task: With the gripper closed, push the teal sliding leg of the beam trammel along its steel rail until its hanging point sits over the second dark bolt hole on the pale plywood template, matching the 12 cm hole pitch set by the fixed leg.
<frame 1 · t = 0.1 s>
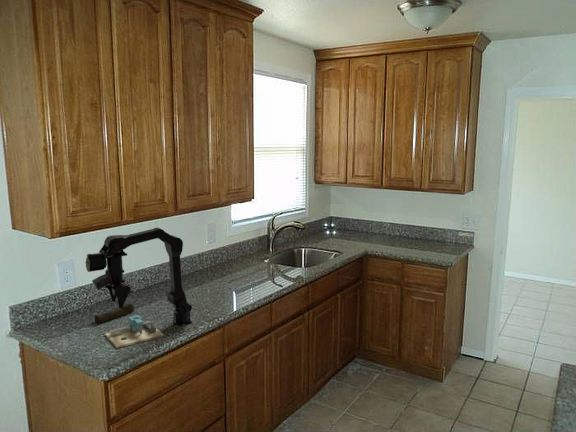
hand: (117, 304, 182), 15 cm above the worktop, fingers open, 9 cm apart
sliding leg: (137, 324, 190), point 4 cm above the worktop, slide at 0.0 cm
rail: (131, 332, 191), resting on template board
fixed leg: (149, 330, 193), resting on template board
hand tool: (115, 318, 207), on the worktop
template board: (134, 335, 187), on the worktop
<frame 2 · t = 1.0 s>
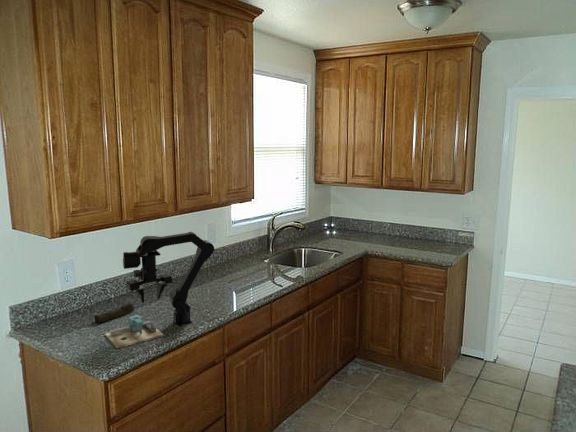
hand: (150, 301, 194), 12 cm above the worktop, fingers open, 6 cm apart
nothing on the worktop moved.
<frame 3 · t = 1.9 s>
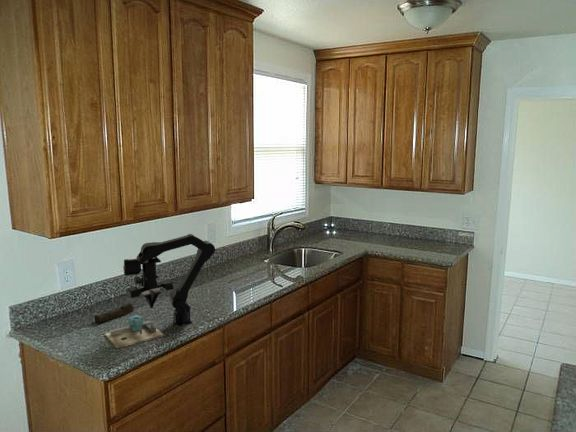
hand: (151, 307, 195), 9 cm above the worktop, fingers closed
nothing on the worktop moved.
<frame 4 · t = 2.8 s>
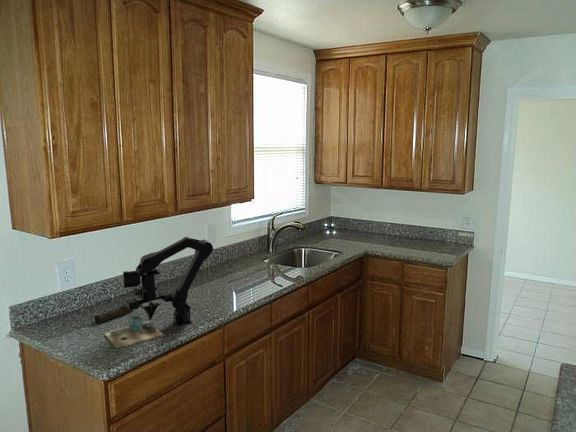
hand: (149, 319, 195), 4 cm above the worktop, fingers closed
nothing on the worktop moved.
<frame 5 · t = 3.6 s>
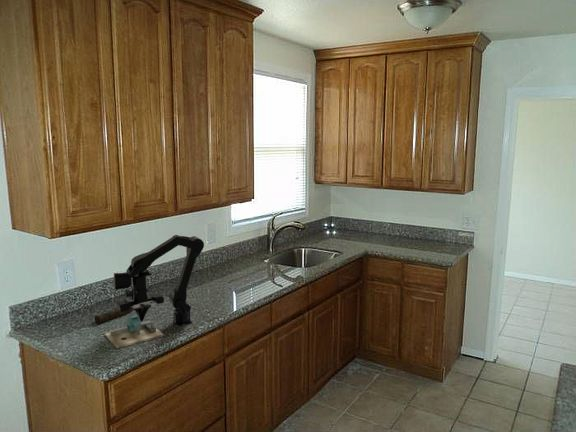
hand: (141, 321, 193), 4 cm above the worktop, fingers closed
sliding leg: (134, 325, 189), point 4 cm above the worktop, slide at 1.0 cm, touching gripper
everything else where it was.
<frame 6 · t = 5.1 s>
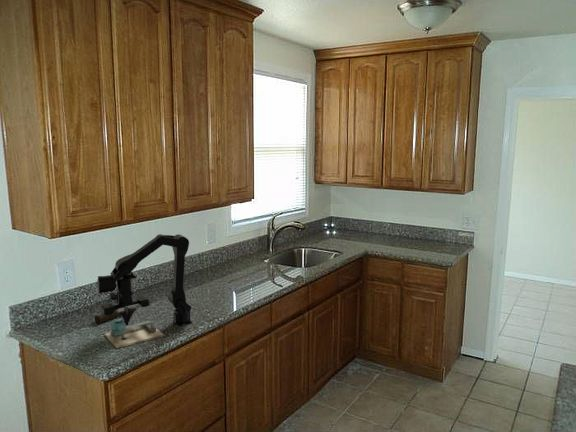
hand: (126, 325, 189), 4 cm above the worktop, fingers closed
sliding leg: (119, 329, 185), point 4 cm above the worktop, slide at 7.3 cm, touching gripper
everything else where it was.
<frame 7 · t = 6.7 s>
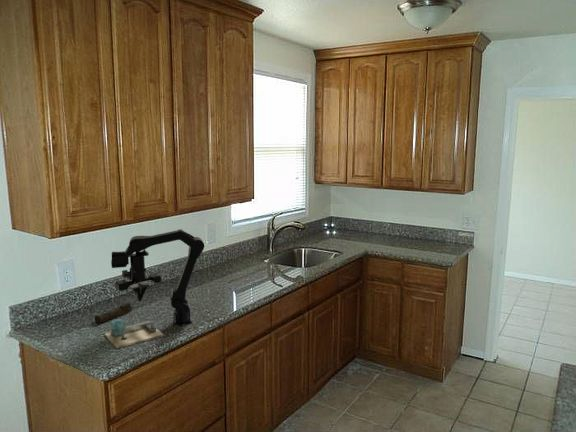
hand: (139, 300, 195), 12 cm above the worktop, fingers closed
sliding leg: (119, 329, 185), point 4 cm above the worktop, slide at 7.3 cm
everything else where it was.
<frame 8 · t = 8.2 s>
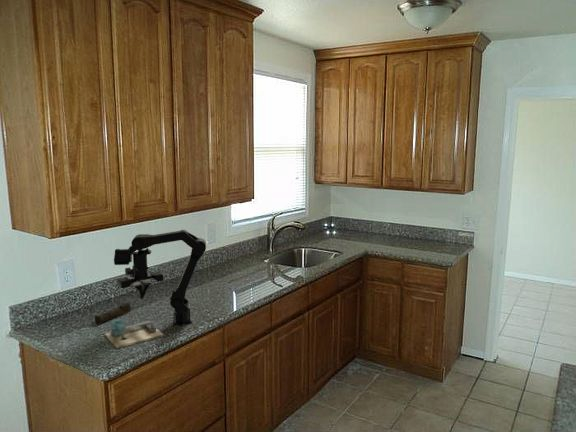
hand: (141, 298, 197), 12 cm above the worktop, fingers closed
at the end: sliding leg slide at 7.3 cm; sliding leg touching nothing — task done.
